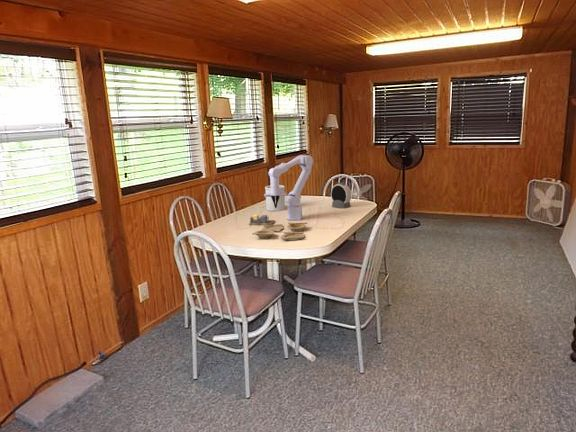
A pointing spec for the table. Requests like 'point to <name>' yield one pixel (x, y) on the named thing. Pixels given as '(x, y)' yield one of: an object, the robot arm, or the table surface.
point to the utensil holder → (269, 200)
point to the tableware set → (270, 229)
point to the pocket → (254, 221)
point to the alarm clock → (341, 195)
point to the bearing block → (263, 218)
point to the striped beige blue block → (265, 219)
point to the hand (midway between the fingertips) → (275, 207)
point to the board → (263, 223)
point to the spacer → (255, 217)
